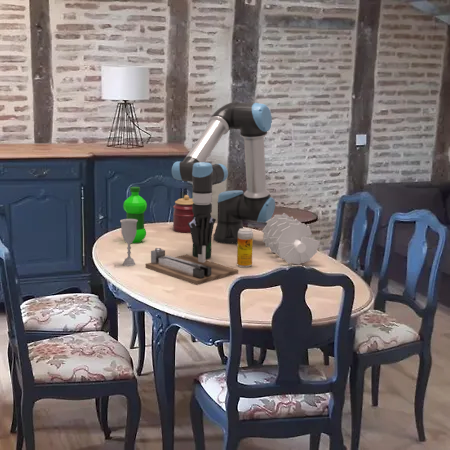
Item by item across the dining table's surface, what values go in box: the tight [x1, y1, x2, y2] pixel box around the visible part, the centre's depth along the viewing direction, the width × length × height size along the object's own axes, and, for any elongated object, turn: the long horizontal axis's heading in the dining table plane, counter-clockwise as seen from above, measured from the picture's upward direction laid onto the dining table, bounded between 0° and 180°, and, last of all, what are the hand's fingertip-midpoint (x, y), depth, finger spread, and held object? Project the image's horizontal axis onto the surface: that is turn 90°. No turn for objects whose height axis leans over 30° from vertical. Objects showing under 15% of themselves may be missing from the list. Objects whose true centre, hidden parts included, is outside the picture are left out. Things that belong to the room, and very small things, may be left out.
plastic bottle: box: [122, 186, 148, 244], centre depth 312 cm, size 10×10×25 cm
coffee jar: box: [191, 237, 213, 260], centre depth 290 cm, size 10×8×19 cm
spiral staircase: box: [261, 212, 321, 266], centre depth 290 cm, size 18×18×25 cm
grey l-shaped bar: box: [150, 247, 204, 279], centre depth 267 cm, size 28×5×6 cm, turn 45°
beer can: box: [236, 227, 254, 268], centre depth 278 cm, size 6×6×15 cm
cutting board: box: [145, 254, 239, 285], centre depth 272 cm, size 22×30×2 cm
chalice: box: [120, 218, 138, 267], centre depth 276 cm, size 7×7×18 cm
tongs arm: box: [164, 254, 211, 276], centre depth 267 cm, size 24×2×3 cm, turn 48°
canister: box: [172, 194, 194, 234], centre depth 337 cm, size 13×13×18 cm
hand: (201, 261), depth 271 cm, fingers closed
